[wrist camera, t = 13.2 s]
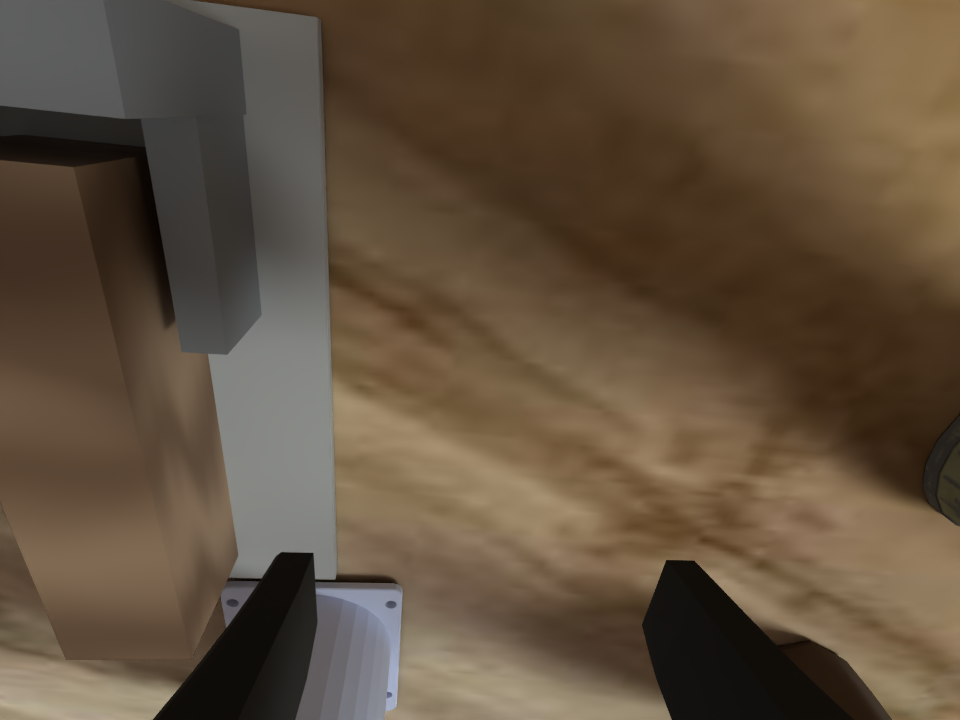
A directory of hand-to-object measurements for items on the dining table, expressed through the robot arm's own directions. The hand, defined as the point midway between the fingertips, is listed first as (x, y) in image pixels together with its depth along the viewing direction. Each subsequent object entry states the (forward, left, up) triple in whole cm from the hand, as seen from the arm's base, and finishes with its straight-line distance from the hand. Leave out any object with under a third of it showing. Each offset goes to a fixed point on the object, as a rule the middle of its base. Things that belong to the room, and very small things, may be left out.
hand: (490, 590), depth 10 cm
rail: (-1, +11, -9) cm, 14 cm away
